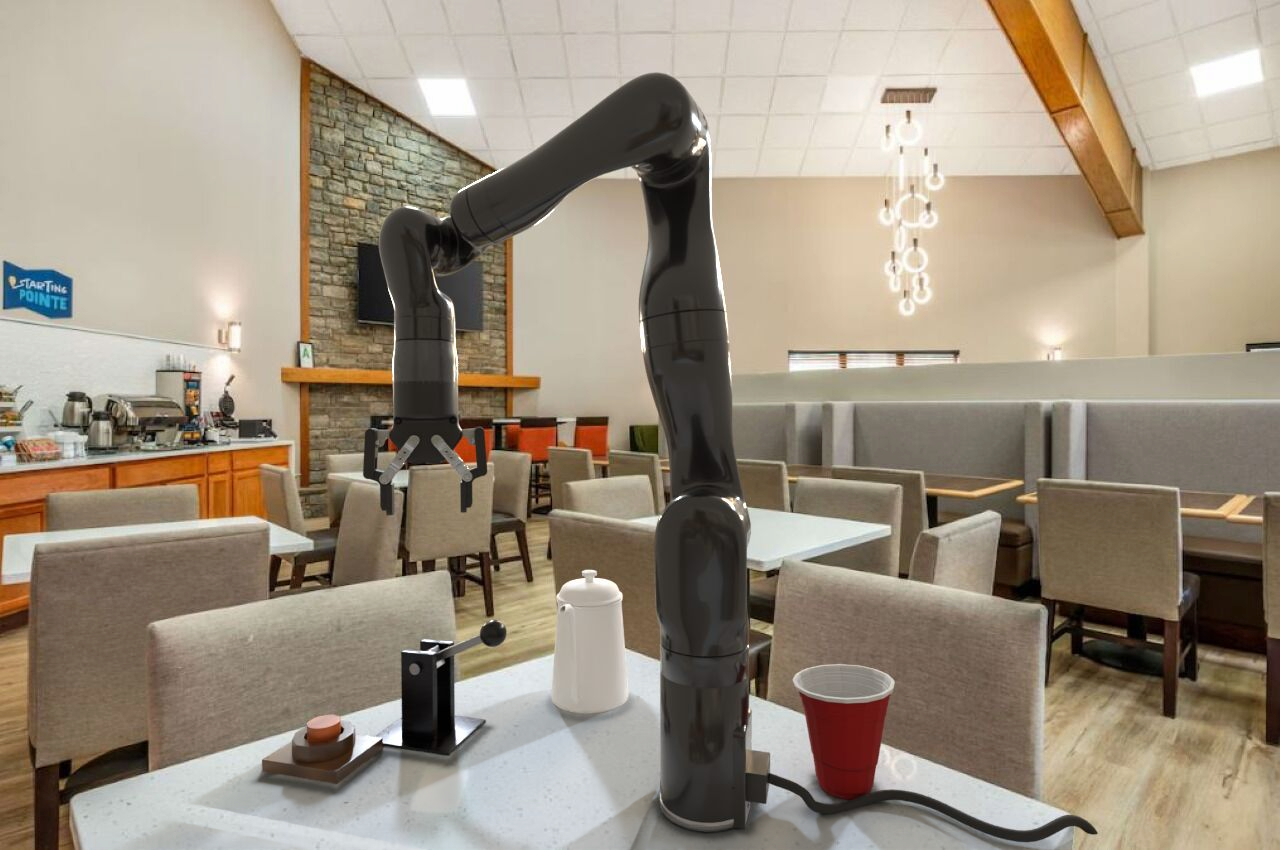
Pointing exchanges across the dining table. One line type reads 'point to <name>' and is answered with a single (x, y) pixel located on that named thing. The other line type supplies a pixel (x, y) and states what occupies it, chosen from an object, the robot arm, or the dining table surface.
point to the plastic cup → (844, 724)
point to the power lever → (474, 641)
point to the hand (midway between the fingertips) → (427, 513)
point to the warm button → (323, 728)
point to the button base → (323, 755)
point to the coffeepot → (589, 647)
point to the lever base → (428, 705)
